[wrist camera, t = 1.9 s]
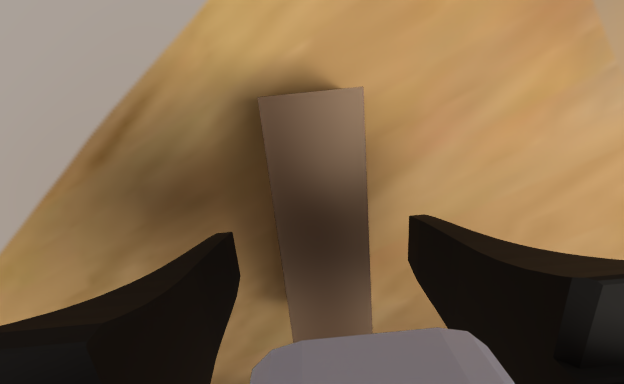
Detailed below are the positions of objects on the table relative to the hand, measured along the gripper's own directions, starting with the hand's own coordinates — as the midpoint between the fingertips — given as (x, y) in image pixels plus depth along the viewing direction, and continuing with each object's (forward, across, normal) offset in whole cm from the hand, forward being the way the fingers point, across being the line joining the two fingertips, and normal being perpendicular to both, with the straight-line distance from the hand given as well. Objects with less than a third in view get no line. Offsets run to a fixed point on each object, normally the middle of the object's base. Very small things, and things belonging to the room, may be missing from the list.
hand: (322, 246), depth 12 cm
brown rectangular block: (+5, 0, 0) cm, 5 cm away
